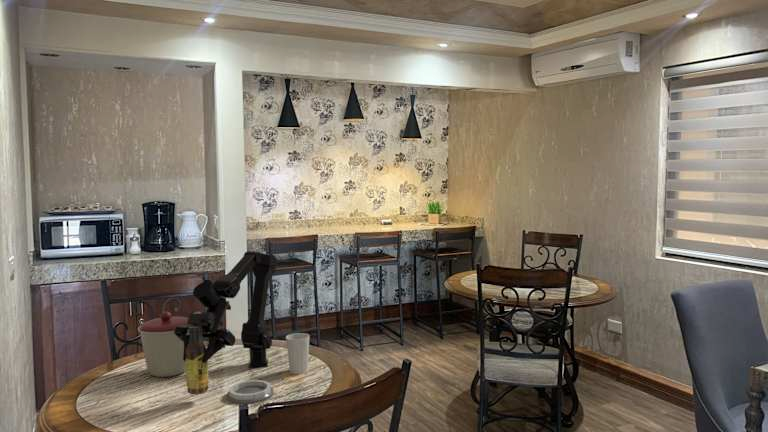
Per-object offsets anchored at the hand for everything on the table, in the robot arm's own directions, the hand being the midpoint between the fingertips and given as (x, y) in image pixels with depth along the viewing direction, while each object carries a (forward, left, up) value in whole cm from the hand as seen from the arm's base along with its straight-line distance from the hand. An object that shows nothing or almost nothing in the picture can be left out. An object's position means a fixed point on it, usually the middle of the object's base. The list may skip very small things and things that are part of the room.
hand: (193, 361), depth 176 cm
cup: (-21, +31, -13) cm, 39 cm away
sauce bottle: (-1, +1, -10) cm, 10 cm away
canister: (-30, -13, -13) cm, 35 cm away
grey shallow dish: (-3, +16, -13) cm, 20 cm away
